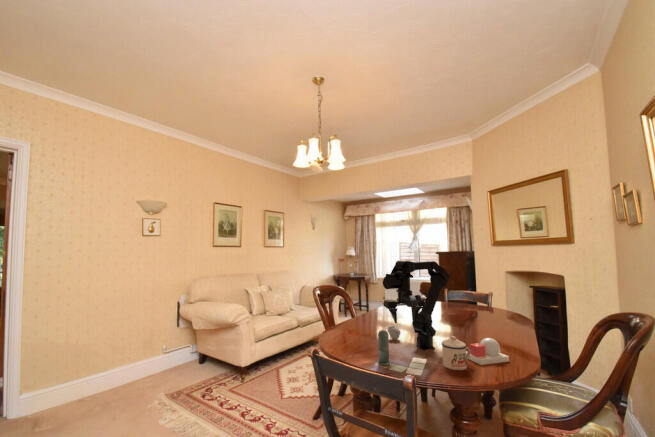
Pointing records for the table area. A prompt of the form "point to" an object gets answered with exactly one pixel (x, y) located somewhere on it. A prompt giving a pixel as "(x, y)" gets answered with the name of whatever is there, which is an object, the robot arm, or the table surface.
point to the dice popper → (487, 352)
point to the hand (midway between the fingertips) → (405, 322)
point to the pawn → (383, 348)
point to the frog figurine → (393, 332)
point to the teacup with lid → (455, 354)
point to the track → (412, 365)
